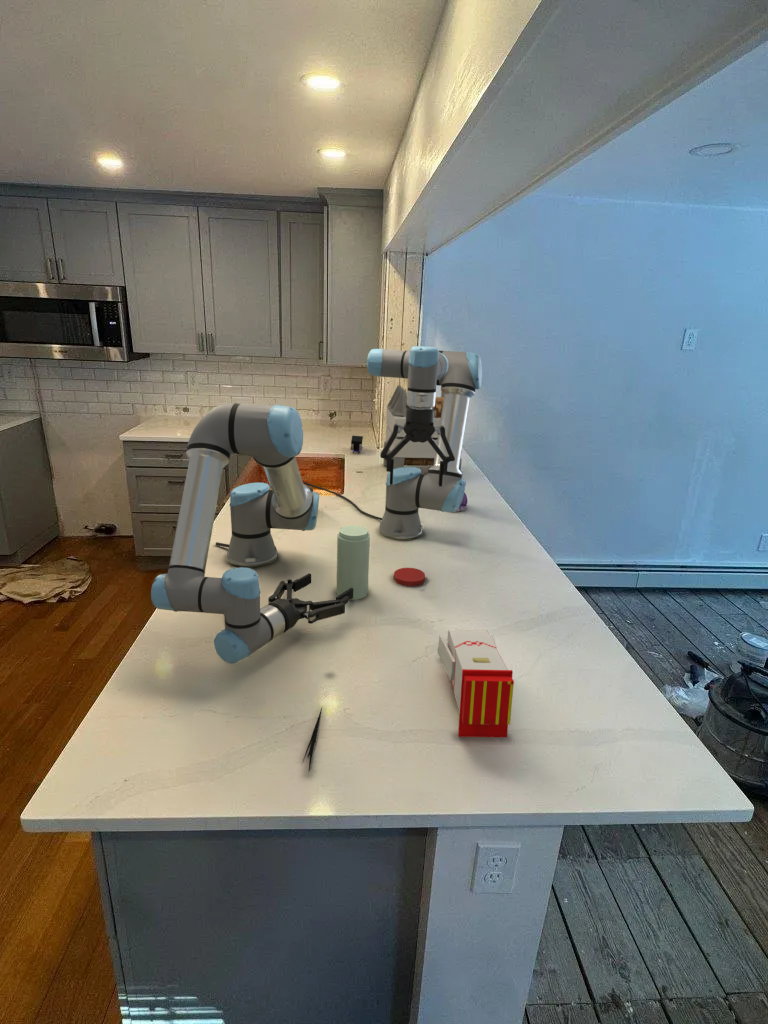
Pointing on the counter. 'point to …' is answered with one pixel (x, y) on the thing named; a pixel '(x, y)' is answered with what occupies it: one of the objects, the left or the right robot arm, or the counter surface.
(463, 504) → the figurine
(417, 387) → the right robot arm
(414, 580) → the lid
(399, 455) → the grey slatted crate
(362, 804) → the counter surface
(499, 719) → the toy
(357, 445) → the figurine character
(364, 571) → the jar
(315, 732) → the feather
